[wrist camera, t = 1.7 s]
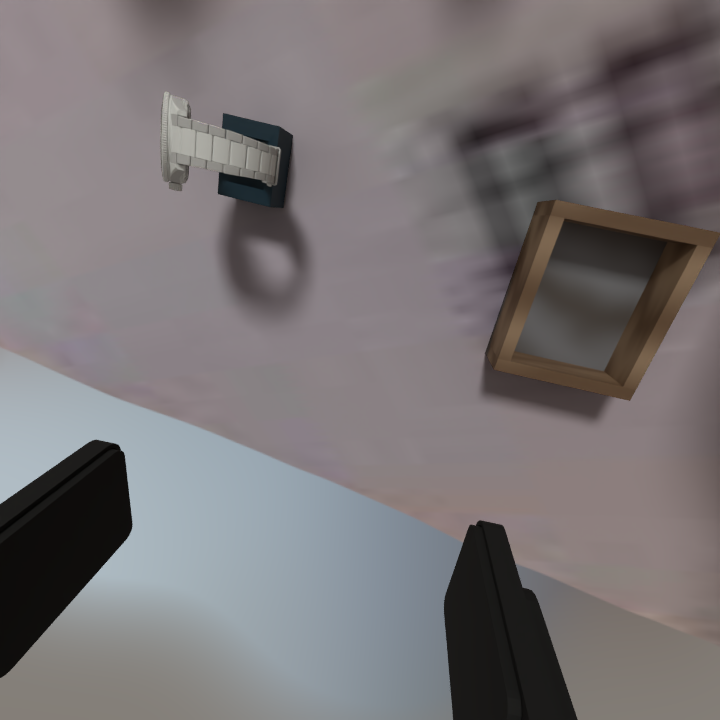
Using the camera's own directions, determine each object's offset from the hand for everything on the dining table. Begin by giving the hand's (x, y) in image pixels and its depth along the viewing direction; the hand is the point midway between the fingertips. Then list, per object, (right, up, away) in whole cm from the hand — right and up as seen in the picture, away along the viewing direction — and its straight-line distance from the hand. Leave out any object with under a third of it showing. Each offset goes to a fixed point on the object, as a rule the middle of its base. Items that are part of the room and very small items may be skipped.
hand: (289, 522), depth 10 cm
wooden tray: (+20, +10, +21) cm, 31 cm away
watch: (-6, +20, +21) cm, 30 cm away
